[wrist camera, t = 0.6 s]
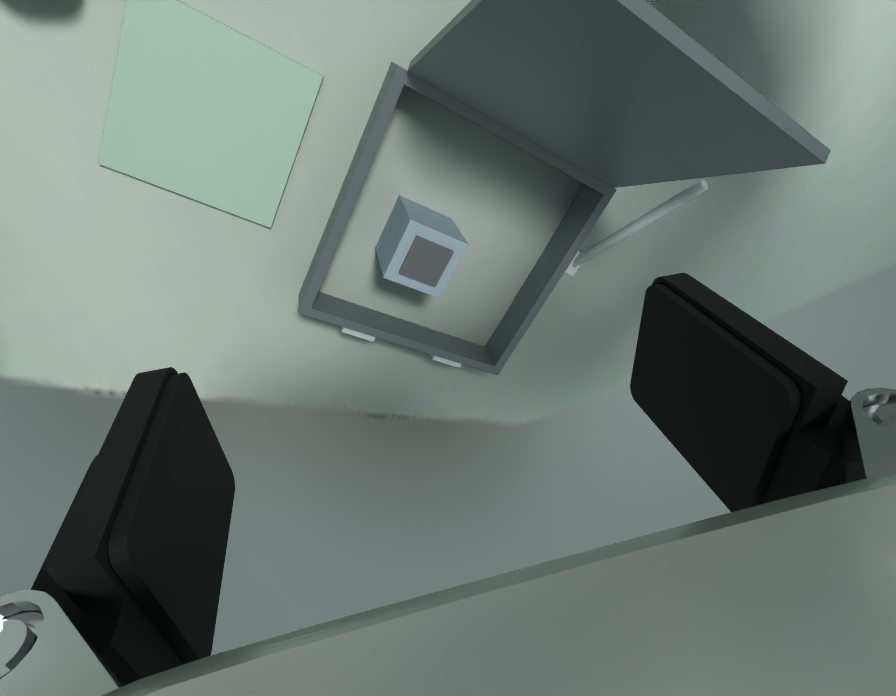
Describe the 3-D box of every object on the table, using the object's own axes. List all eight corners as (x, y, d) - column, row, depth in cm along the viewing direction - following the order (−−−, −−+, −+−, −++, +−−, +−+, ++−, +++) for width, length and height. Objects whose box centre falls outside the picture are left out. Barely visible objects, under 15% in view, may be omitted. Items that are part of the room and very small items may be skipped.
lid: (407, 71, 34) (411, 58, 33) (613, 187, 41) (616, 177, 41) (542, -58, 19) (550, -82, 18) (825, 163, 26) (831, 147, 26)
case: (411, 12, 35) (447, 14, 26) (629, 147, 44) (714, 185, 35) (296, 299, 45) (292, 376, 36) (493, 362, 54) (531, 437, 44)
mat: (132, -24, 31) (131, -24, 31) (323, 75, 36) (323, 76, 36) (99, 162, 36) (97, 163, 35) (270, 226, 41) (270, 227, 41)
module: (399, 194, 42) (411, 221, 37) (451, 218, 44) (469, 246, 39) (375, 247, 44) (383, 279, 39) (426, 267, 46) (440, 300, 41)
